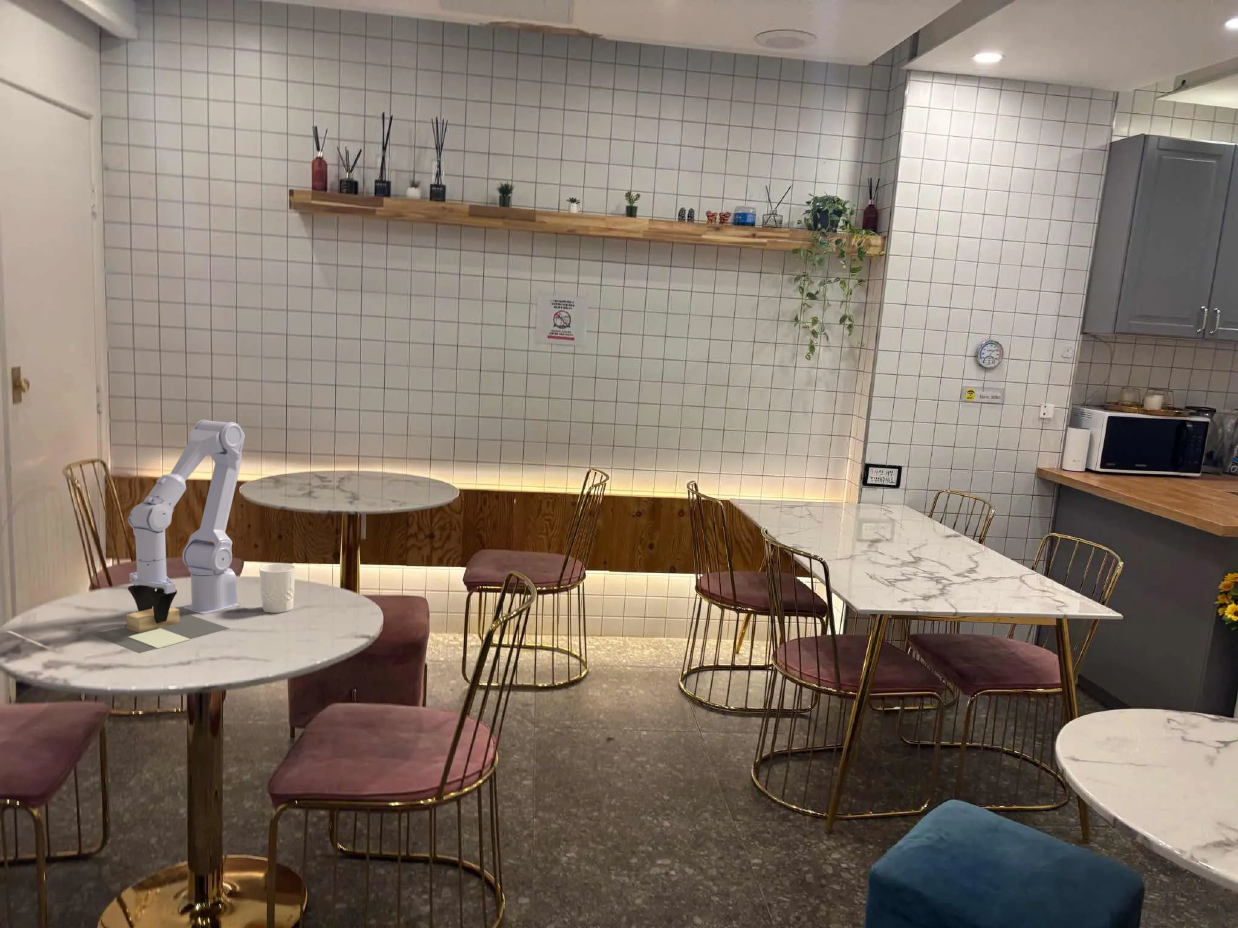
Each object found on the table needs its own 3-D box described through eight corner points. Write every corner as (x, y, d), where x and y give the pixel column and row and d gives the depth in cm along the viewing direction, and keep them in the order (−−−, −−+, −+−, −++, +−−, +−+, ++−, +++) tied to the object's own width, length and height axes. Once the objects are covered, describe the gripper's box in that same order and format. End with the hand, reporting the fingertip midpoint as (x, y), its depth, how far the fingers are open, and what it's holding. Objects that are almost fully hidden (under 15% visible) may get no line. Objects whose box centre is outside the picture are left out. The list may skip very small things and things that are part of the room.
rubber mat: (182, 613, 208) (182, 611, 208) (231, 630, 198) (231, 627, 198) (92, 635, 191) (92, 633, 191) (140, 655, 181) (140, 652, 181)
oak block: (166, 618, 203) (166, 605, 203) (179, 622, 201) (179, 609, 200) (126, 627, 196) (126, 614, 196) (139, 632, 193) (139, 619, 193)
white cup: (258, 614, 210) (257, 572, 208) (261, 604, 217) (261, 564, 216) (294, 613, 212) (293, 571, 210) (296, 603, 219) (296, 563, 218)
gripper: (114, 556, 197) (117, 616, 199) (152, 567, 189) (154, 630, 191) (146, 550, 203) (148, 609, 205) (184, 561, 195) (185, 622, 197)
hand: (153, 619), depth 198 cm, fingers open, 5 cm apart
